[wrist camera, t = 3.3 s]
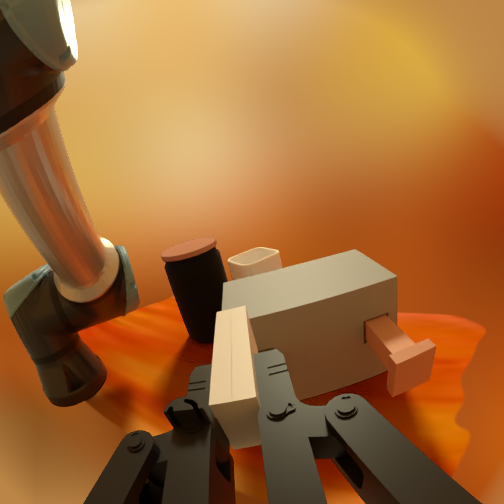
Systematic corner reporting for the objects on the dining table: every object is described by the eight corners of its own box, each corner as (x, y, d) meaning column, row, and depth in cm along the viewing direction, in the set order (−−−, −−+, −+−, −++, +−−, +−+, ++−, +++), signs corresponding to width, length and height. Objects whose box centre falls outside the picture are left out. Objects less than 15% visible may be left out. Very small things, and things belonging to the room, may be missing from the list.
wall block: (252, 411, 32) (220, 325, 28) (246, 358, 43) (223, 282, 39) (394, 367, 32) (397, 276, 28) (361, 326, 43) (355, 249, 40)
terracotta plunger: (392, 397, 22) (396, 364, 20) (349, 335, 34) (347, 305, 32) (429, 379, 22) (435, 345, 20) (380, 324, 34) (379, 294, 32)
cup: (244, 332, 51) (223, 259, 47) (275, 316, 55) (258, 245, 51) (266, 347, 45) (245, 266, 41) (298, 327, 49) (283, 250, 45)
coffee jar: (250, 321, 55) (227, 235, 50) (213, 351, 47) (181, 257, 43) (216, 313, 62) (192, 237, 57) (180, 336, 55) (150, 256, 50)
